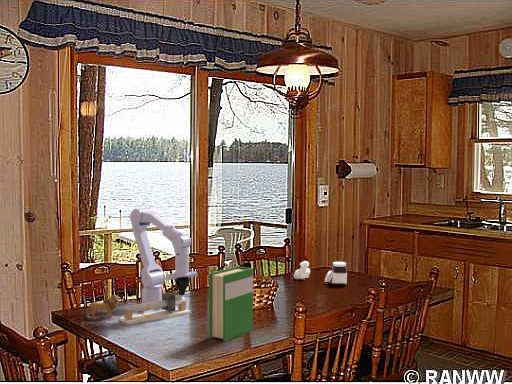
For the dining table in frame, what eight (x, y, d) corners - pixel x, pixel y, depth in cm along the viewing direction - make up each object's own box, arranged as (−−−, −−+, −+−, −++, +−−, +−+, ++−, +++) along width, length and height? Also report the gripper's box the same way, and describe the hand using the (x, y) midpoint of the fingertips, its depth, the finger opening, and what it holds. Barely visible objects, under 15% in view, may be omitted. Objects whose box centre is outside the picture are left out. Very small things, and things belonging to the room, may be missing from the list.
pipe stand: (119, 320, 246) (119, 304, 245) (181, 309, 264) (181, 294, 263) (128, 324, 240) (128, 308, 239) (190, 313, 257) (190, 298, 257)
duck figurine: (296, 284, 329) (306, 269, 324) (287, 274, 333) (297, 259, 328) (309, 281, 338) (319, 267, 332) (301, 271, 342) (311, 257, 336)
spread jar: (347, 286, 313) (348, 264, 313) (325, 286, 313) (326, 264, 313) (344, 282, 325) (345, 260, 325) (323, 282, 325) (323, 260, 325)
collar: (161, 308, 257) (161, 293, 256) (168, 307, 258) (168, 292, 258) (169, 311, 252) (169, 296, 252) (175, 310, 254) (175, 295, 253)
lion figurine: (117, 314, 255) (117, 293, 255) (120, 317, 250) (120, 295, 250) (82, 318, 249) (82, 296, 248) (84, 321, 244) (84, 299, 243)
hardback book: (225, 341, 218) (225, 275, 217) (208, 338, 222) (209, 273, 221) (252, 330, 233) (253, 268, 231) (237, 327, 237) (237, 266, 235)
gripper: (171, 266, 251) (171, 298, 251) (201, 262, 259) (201, 294, 260) (163, 264, 256) (163, 295, 257) (192, 260, 265) (192, 291, 266)
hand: (182, 294), depth 259 cm, fingers closed
